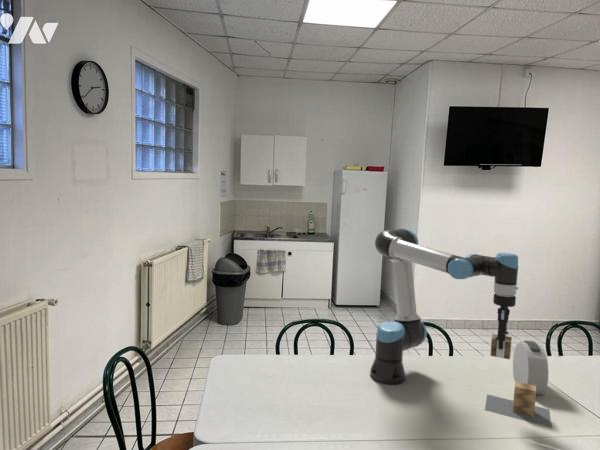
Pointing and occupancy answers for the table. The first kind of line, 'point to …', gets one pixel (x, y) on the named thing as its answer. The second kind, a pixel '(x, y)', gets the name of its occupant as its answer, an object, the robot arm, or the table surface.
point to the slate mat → (506, 409)
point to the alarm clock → (531, 365)
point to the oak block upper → (525, 392)
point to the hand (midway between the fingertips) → (500, 353)
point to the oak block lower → (523, 407)
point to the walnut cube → (507, 346)
